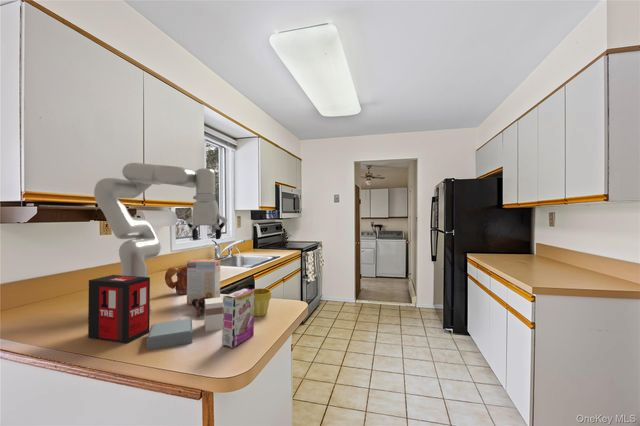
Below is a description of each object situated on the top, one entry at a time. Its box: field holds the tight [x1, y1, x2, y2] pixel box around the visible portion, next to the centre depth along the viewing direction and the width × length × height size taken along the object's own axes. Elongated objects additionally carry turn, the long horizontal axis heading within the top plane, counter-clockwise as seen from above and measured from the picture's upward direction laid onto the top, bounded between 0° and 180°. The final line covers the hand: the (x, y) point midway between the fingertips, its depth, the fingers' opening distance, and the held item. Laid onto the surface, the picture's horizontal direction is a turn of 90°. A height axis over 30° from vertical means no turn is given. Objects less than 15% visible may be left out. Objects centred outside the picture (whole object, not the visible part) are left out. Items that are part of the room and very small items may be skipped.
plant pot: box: [251, 287, 272, 317], centre depth 123 cm, size 10×10×10 cm
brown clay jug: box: [191, 296, 212, 318], centre depth 122 cm, size 12×10×8 cm
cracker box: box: [186, 259, 221, 306], centre depth 135 cm, size 14×6×21 cm, turn 84°
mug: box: [164, 265, 187, 295], centre depth 151 cm, size 15×8×15 cm, turn 144°
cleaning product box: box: [87, 274, 151, 344], centre depth 100 cm, size 16×9×20 cm, turn 77°
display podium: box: [146, 318, 193, 351], centre depth 98 cm, size 13×13×4 cm
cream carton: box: [203, 296, 223, 332], centre depth 108 cm, size 6×7×10 cm
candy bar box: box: [221, 288, 255, 349], centre depth 97 cm, size 11×5×16 cm, turn 157°
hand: (206, 239), depth 119 cm, fingers open, 9 cm apart
